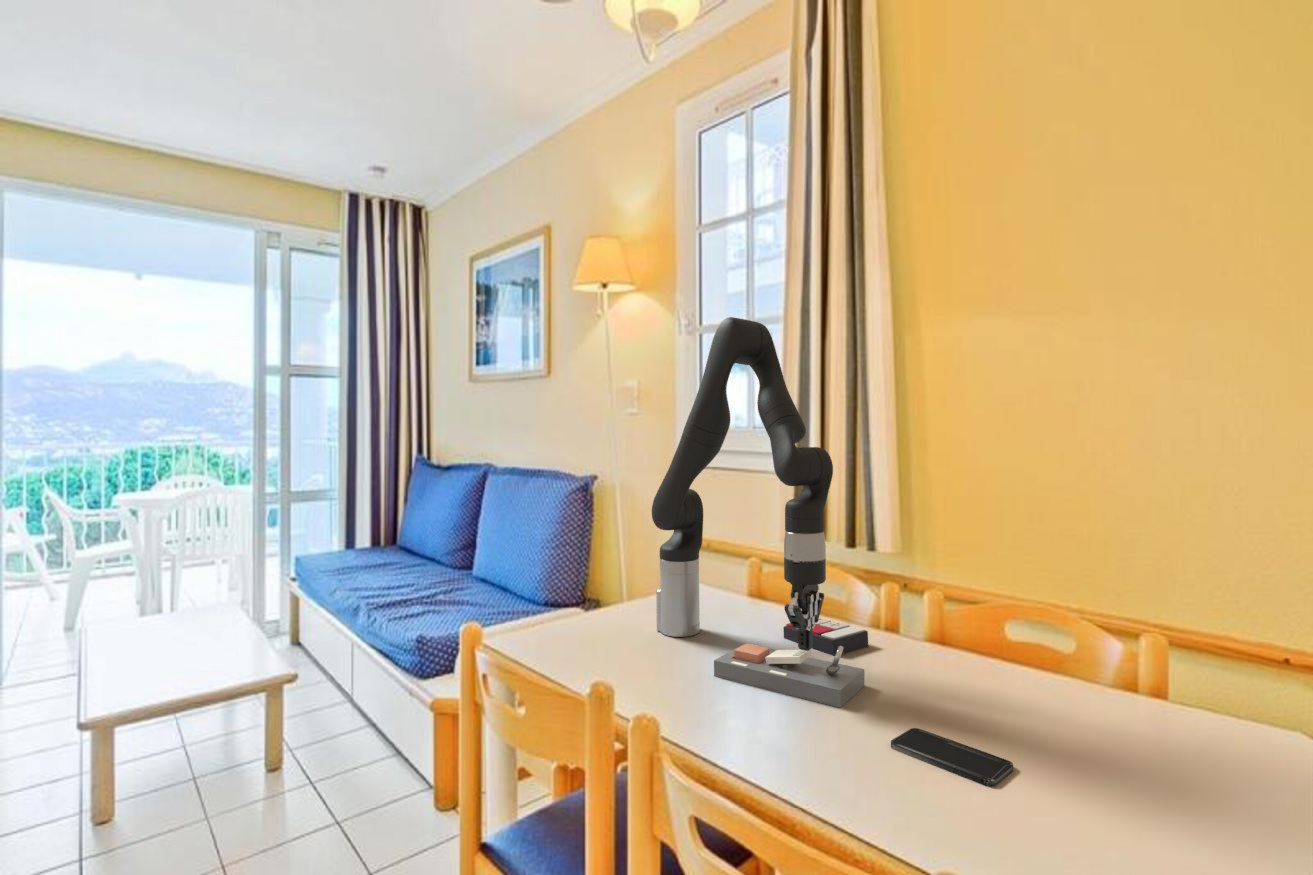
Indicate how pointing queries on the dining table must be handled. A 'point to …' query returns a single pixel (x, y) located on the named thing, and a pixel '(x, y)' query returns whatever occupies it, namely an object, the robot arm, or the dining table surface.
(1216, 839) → the dining table surface
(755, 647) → the push button
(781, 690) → the panel
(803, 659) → the white slab
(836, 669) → the toggle lever
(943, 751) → the phone
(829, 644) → the calculator
